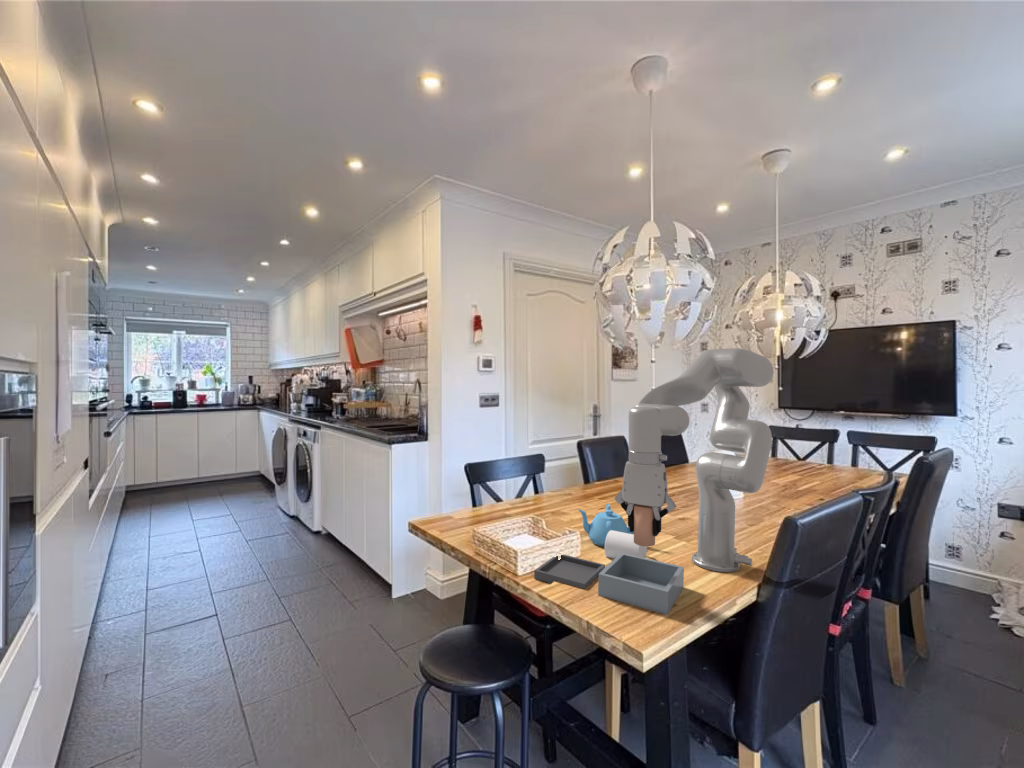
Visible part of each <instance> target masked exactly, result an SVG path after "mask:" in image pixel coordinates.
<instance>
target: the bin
mask: <svg viewBox="0 0 1024 768" xmlns="http://www.w3.org/2000/svg"><path fill="white" fill-rule="evenodd" d="M684 573H685V567H684V566H682V565H676V564H672V563H668V562H664V561H659V560H656V559H655V560H654V559H651V558H650V559H649V558H647V557H646V558H642V557H638V556H633V555H629V554H624V553H620V554H619V555H618V556H617V557H616V558H615V559H613V560H612V561H610V563H608V565H606V566H605V568H604V569H603V570H602V571H601V572H600V573H599V576H598V577H597V578H598V580H597V581H598V582H597V585H598V586H597V587H598V588H597V591H598V592H597V596H599V597H603V598H607V599H610V600H614V601H617V602H621V603H624V604H627V605H630V606H631V605H632V606H635V607H637V608H642V609H645V610H648V611H653V612H656V613H660V614H663V615H669V614H670V611H671V610H672V608H673V606H674V604H675V603H676V601H677V599H678V597H679V595H680V593H681V592H682V590H683V589H684V585H685V583H684V578H685V577H684Z"/></svg>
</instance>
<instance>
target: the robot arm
mask: <svg viewBox="0 0 1024 768" xmlns="http://www.w3.org/2000/svg"><path fill="white" fill-rule="evenodd" d="M773 366H774V365H773V364H772V362H771V361H770V359H768V358H767V357H766V356H764V355H762V354H758V353H757V352H754V351H751V350H748V349H744V348H740V347H739V348H738V347H734V348H732V347H731V348H714V349H713V348H712V349H707V350H704V351H702V352H701V353H700V354H699V355H698V356H697V357H696V358H695V359H694V360H693V361H692V362H691V364H690V365H689V366H688V367H687V368H686V369H685V370H684V371H683V372H682V373H681V375H680V376H678V377H675V378H673V379H670V380H669V381H667V382H665V383H663V384H660V385H657V387H655V388H653V389H651V390H650V391H648V392H647V393H646V394H644V396H642V398H641V399H640V400H639V401H638V402H637V403H636V405H635V406H634V407H632V408H630V409H629V411H628V460H627V461H626V462H625V466H624V469H623V470H624V471H623V479H622V488H621V490H620V491H619V492H618V493H617V494H616V496H615V497H614V501H615V502H617V503H618V504H619V505H620V506H621V508H622V509H623V511H624V512H625V513H626V515H627V528H628V527H630V532H633V531H634V505H635V504H636V505H642V506H649V507H652V508H653V512H654V515H655V517H654V519H653V536H655V537H657V536H658V535H659V534H660V533H661V532H662V518H663V517H665V516H666V515H667V514H670V512H672V511H674V510H675V509H676V508H677V505H676V503H675V502H674V500H673V499H672V498H671V497H670V495H669V492H668V491H669V490H668V489H669V487H668V478H667V471H666V470H667V469H666V466H665V465H666V464H664V463H662V462H665V461H668V455H667V454H664V453H662V436H669V437H670V436H671V437H674V436H679V435H682V434H683V433H685V432H686V431H687V429H688V428H689V425H690V416H689V414H688V412H687V411H686V409H684V408H683V407H681V406H686V405H690V404H694V403H697V402H701V401H702V400H704V399H705V398H706V397H707V396H708V395H709V393H710V392H711V391H712V390H713V389H715V392H716V396H717V405H716V409H715V410H716V411H715V414H714V418H713V422H712V425H711V429H710V433H709V440H710V444H711V445H712V447H714V448H715V449H718V450H722V451H728V452H735V453H740V454H744V456H742V455H741V456H740V455H735V454H728V453H721V452H715V451H714V452H706V453H703V454H701V455H699V457H697V460H696V462H695V475H696V479H697V486H698V488H697V489H698V519H697V520H698V522H697V523H698V527H697V528H698V529H697V531H698V533H697V552H694V553H693V554H692V555H691V560H692V563H694V564H695V565H697V566H699V568H703V569H705V570H709V571H713V572H719V573H720V572H721V573H732V572H733V573H734V572H737V571H739V570H740V569H741V565H742V564H743V565H745V566H750V567H752V566H753V558H750V557H749V556H748V555H745V554H739V552H737V551H738V550H737V548H736V547H735V537H736V536H735V533H736V530H735V529H736V502H735V499H734V496H733V494H732V493H731V491H733V492H734V491H735V492H740V493H744V494H745V493H747V494H754V493H757V492H758V491H759V490H760V489H761V488H762V485H763V483H764V481H765V480H764V479H765V475H766V470H767V468H768V462H769V457H770V453H771V449H772V443H773V441H772V440H773V436H772V431H771V428H770V427H769V425H768V424H767V423H765V422H764V421H761V420H757V419H748V417H749V412H750V402H749V400H748V398H747V395H745V393H744V392H743V390H742V389H741V388H740V387H742V388H743V387H744V388H745V387H747V388H748V387H749V388H751V387H753V388H755V387H756V388H761V387H762V388H763V387H765V386H767V385H769V384H770V383H771V381H772V380H773V377H774V367H773ZM664 504H666V505H667V506H666V507H664ZM662 507H664V508H663V509H662Z"/></svg>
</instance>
